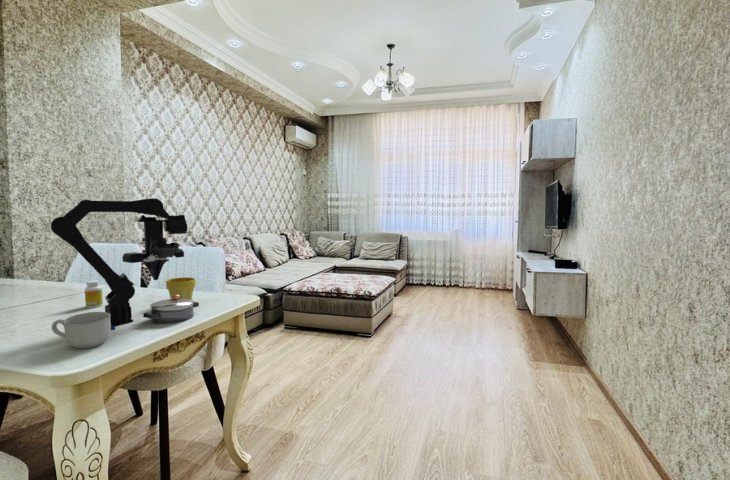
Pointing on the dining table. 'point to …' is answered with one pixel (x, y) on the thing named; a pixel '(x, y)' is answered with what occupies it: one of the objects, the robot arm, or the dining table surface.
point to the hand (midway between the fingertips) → (155, 280)
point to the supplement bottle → (93, 294)
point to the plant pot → (181, 287)
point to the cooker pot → (171, 315)
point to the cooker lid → (172, 304)
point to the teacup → (85, 329)
